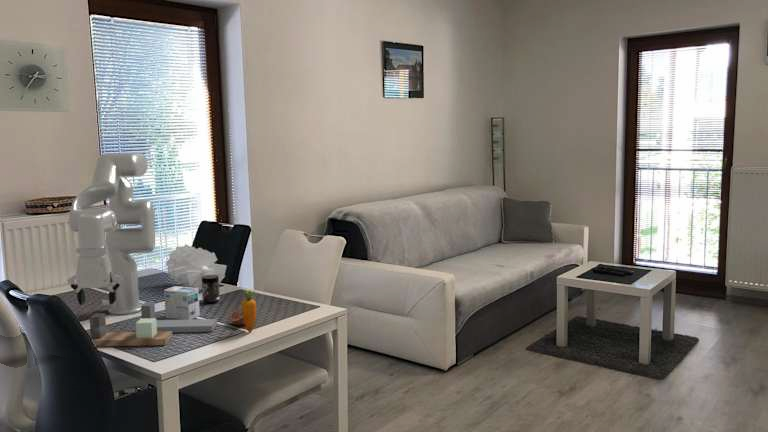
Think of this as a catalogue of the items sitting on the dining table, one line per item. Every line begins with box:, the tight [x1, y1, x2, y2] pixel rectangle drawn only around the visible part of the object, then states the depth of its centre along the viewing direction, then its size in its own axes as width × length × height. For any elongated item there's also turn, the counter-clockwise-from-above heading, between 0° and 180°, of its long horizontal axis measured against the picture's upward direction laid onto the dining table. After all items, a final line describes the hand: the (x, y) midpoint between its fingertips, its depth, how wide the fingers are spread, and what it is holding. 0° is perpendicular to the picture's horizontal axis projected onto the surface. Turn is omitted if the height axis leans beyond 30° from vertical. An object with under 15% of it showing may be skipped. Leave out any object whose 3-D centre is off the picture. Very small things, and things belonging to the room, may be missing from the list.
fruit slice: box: [228, 308, 245, 326], centre depth 231 cm, size 8×7×5 cm
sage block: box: [135, 317, 157, 338], centre depth 213 cm, size 5×5×5 cm
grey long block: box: [140, 301, 218, 333], centre depth 226 cm, size 24×8×9 cm, turn 92°
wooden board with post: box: [89, 312, 173, 347], centre depth 213 cm, size 24×8×9 cm, turn 92°
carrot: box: [241, 289, 257, 333], centre depth 222 cm, size 5×5×15 cm
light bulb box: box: [163, 285, 201, 320], centre depth 241 cm, size 11×7×11 cm, turn 71°
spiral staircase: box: [165, 243, 228, 292], centre depth 285 cm, size 18×18×25 cm
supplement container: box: [201, 275, 221, 305], centre depth 261 cm, size 7×7×10 cm
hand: (97, 303), depth 212 cm, fingers open, 9 cm apart
